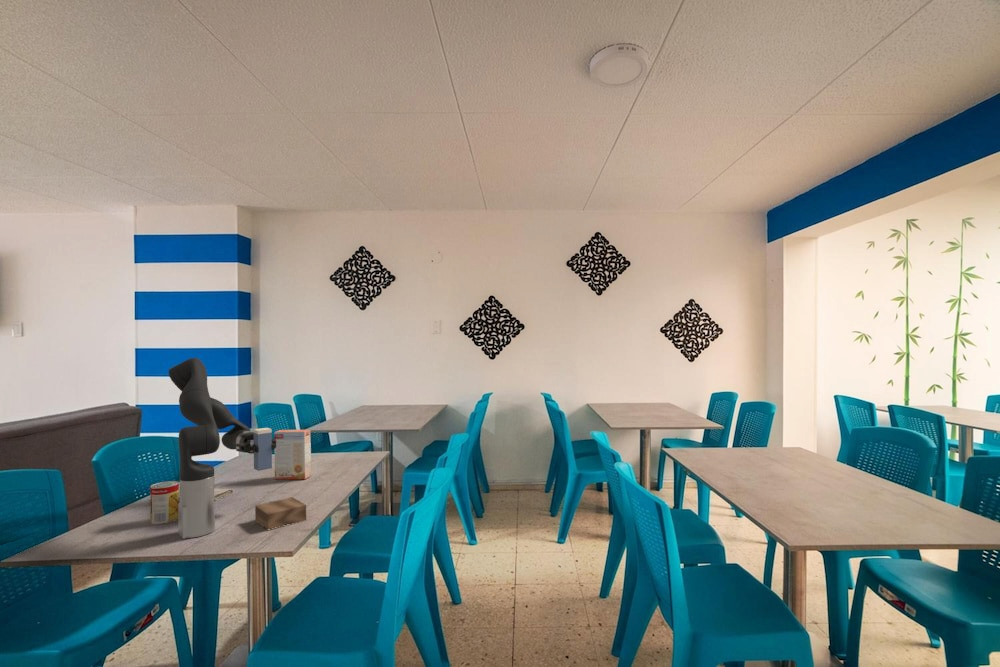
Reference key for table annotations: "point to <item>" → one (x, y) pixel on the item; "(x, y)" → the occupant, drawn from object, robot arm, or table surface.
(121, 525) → the table surface
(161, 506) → the canned food
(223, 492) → the washcloth
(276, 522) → the display plinth
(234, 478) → the table surface
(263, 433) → the carton
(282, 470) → the cracker box
